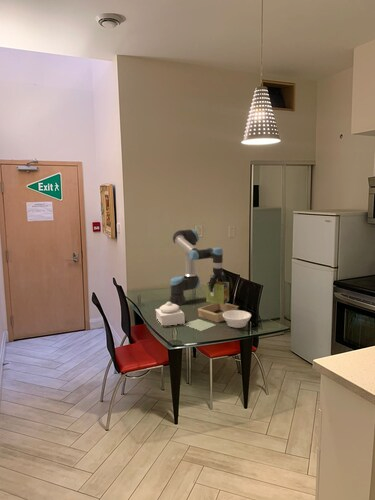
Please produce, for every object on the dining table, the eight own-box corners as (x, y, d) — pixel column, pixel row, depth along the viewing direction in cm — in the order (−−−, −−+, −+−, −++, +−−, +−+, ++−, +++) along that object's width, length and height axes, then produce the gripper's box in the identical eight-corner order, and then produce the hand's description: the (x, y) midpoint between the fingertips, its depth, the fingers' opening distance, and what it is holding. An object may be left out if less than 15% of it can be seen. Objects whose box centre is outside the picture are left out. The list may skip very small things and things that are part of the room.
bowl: (231, 318, 292) (231, 308, 291) (256, 323, 280) (256, 313, 279) (217, 326, 275) (217, 316, 274) (243, 332, 263) (243, 321, 262)
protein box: (223, 304, 289) (223, 285, 286) (206, 301, 297) (205, 282, 294) (229, 301, 298) (229, 282, 295) (212, 298, 306) (211, 279, 303)
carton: (196, 317, 297) (196, 309, 296) (220, 308, 316) (220, 301, 315) (215, 323, 282) (215, 315, 281) (239, 314, 301) (239, 306, 300)
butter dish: (184, 323, 281) (183, 303, 279) (161, 327, 276) (160, 307, 273) (177, 316, 298) (176, 297, 295) (155, 320, 292) (154, 300, 290)
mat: (183, 324, 281) (183, 324, 281) (198, 319, 291) (198, 318, 291) (200, 331, 267) (200, 330, 267) (216, 325, 278) (216, 324, 278)
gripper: (210, 270, 282) (210, 298, 286) (231, 265, 298) (231, 292, 302) (203, 269, 287) (203, 296, 291) (224, 264, 303) (224, 290, 307)
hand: (217, 294), depth 296 cm, fingers closed on protein box, 12 cm apart
